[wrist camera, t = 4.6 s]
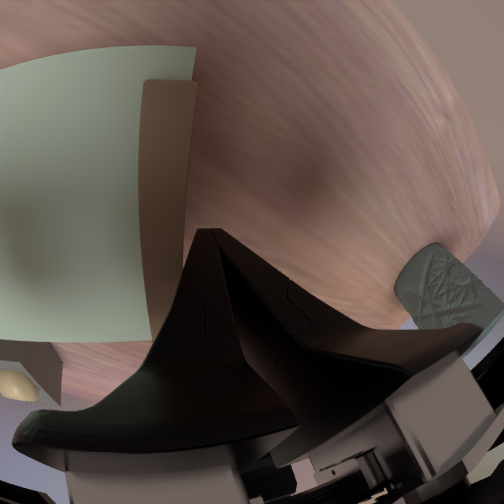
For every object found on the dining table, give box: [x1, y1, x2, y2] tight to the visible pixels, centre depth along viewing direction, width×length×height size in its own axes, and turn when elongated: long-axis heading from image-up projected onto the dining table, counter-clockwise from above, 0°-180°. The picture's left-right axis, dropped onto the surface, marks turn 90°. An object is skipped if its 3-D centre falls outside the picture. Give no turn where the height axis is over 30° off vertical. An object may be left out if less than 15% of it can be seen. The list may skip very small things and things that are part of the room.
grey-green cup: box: [394, 243, 504, 359], centre depth 25 cm, size 10×10×12 cm
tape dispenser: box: [0, 339, 63, 407], centre depth 15 cm, size 8×4×7 cm, turn 170°
